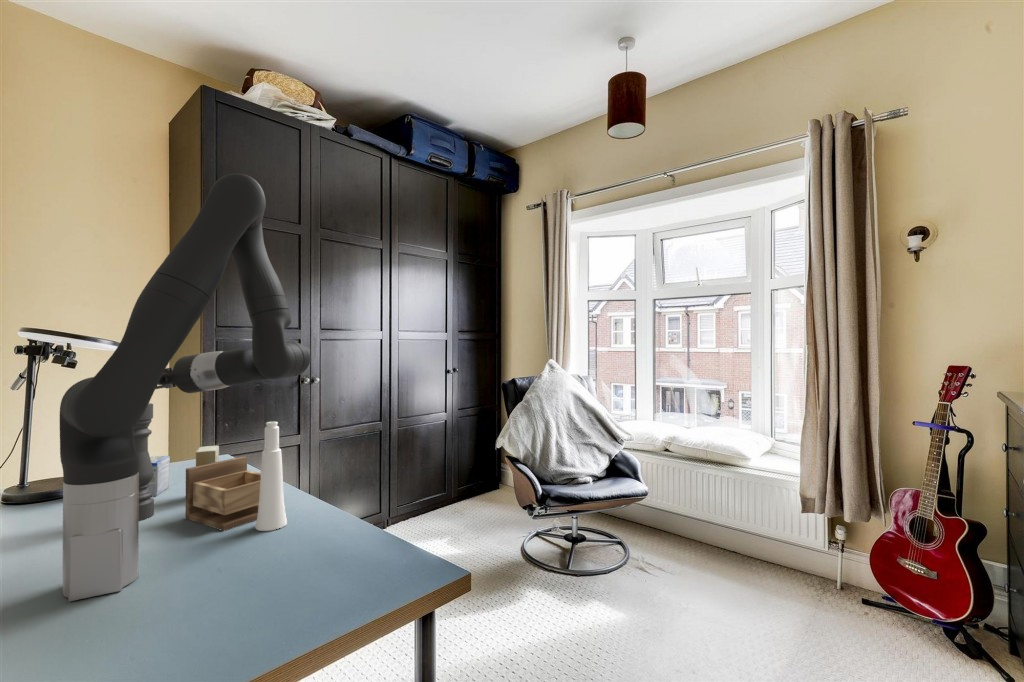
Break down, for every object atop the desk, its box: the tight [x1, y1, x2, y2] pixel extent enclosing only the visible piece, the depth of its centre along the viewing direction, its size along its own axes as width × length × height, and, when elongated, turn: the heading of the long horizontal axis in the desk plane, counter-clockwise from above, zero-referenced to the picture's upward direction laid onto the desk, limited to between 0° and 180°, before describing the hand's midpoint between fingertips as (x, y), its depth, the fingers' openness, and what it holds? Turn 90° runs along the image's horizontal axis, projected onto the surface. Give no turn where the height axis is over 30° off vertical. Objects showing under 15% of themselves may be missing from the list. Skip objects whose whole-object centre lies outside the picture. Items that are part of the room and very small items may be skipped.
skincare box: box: [195, 445, 220, 467], centre depth 120 cm, size 6×4×12 cm
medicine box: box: [148, 455, 171, 497], centre depth 123 cm, size 8×4×9 cm, turn 17°
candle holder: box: [133, 402, 155, 522], centre depth 105 cm, size 6×6×25 cm
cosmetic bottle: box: [255, 421, 288, 532], centre depth 100 cm, size 6×6×22 cm
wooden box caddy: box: [185, 456, 261, 532], centre depth 107 cm, size 14×13×11 cm
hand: (136, 382), depth 96 cm, fingers open, 8 cm apart
